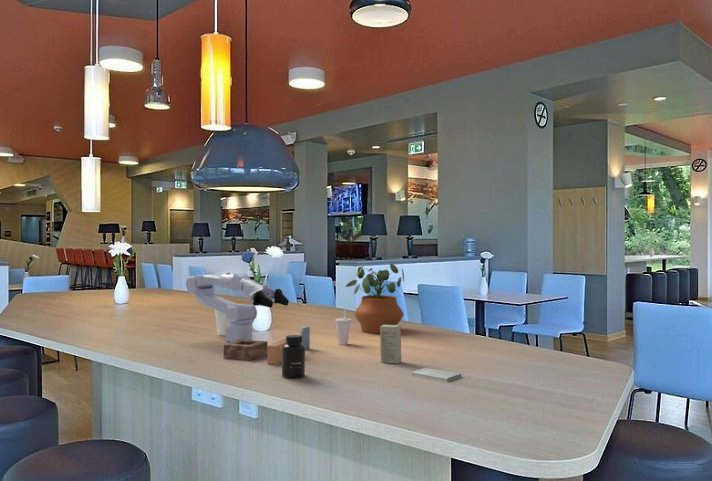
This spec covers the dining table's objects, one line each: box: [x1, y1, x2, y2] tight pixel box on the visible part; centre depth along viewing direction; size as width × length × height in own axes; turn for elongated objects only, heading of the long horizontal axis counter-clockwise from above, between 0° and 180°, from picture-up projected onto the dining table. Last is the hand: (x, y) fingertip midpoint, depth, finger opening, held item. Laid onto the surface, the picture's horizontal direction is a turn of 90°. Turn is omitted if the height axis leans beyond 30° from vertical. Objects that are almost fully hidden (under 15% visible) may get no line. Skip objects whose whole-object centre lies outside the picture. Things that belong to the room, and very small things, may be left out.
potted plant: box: [345, 263, 405, 334], centre depth 256 cm, size 23×28×30 cm
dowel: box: [299, 326, 311, 351], centre depth 211 cm, size 4×4×8 cm
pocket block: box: [223, 339, 268, 361], centre depth 198 cm, size 11×11×4 cm
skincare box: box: [379, 324, 402, 364], centre depth 189 cm, size 6×4×12 cm
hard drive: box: [411, 367, 462, 383], centre depth 170 cm, size 2×8×12 cm
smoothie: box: [334, 307, 352, 346], centre depth 221 cm, size 6×6×14 cm
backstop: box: [266, 338, 287, 366], centre depth 193 cm, size 3×18×6 cm, turn 161°
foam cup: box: [214, 310, 231, 337], centre depth 243 cm, size 10×9×13 cm
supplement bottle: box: [281, 334, 306, 380], centre depth 169 cm, size 7×7×12 cm
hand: (279, 303), depth 203 cm, fingers open, 7 cm apart
